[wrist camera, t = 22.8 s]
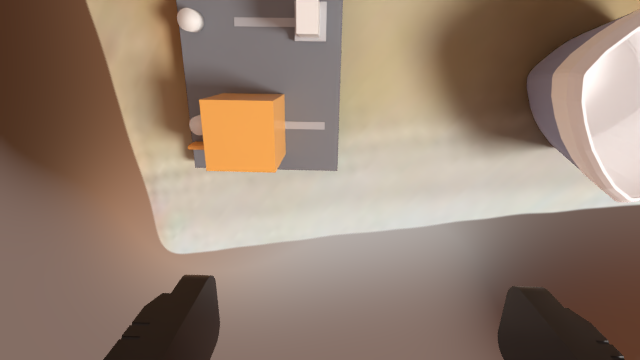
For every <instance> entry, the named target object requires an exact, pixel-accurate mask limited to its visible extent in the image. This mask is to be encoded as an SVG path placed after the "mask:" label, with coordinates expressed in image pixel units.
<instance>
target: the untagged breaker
mask: <svg viewBox="0 0 640 360" xmlns="http://www.w3.org/2000/svg"><path fill="white" fill-rule="evenodd" d="M294 8H295V41H305V42H326V22H327V2H319V0H296V1H294Z"/></svg>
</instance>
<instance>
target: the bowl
mask: <svg viewBox="0 0 640 360" xmlns="http://www.w3.org/2000/svg"><path fill="white" fill-rule="evenodd" d="M527 92H528V98H529V104H530V108H531V111H532V114H533V117H534V120H535V122H536V123H537V125H538V127H539V129H540V131H541V132H542V133H543V135H544V136H545V137H546V138H547V140H548V141H549V142H550V143H551V144H552V145H553V146H554V147H555V148H556V149H557V150H558V151H559V152H561V153H562V154H563V155H564V156H565V157H566V158H567V159H568V160H570V161H571V162H572V163H573V164H574V165H575V166H576V167H577V168H579V169H580V170H581V172H582V173H583V174H585V175H586V176H587V177H588V178H589V179H590V180H591V181H592V182H594V183H595V184H596V185H597V186H598V187H599V188H600V189H601V190H603V191H604V192H605V193H606V194H608V195H609V196H610V197H611V198H612V199H614V200H615V201H617V202H634V201H640V9H639V10H637V11H635V12H632V13H630V14H628V15H625V16H623V17H621V18H618V19H616V20H614V21H611V22H609V23H607V24H604V25H602V26H600V27H597V28H595V29H592V30H590V31H588V32H585V33H583V34H581V35H579V36H577V37H575V38H573V39H571V40H569V41H567V42H566V43H564V44H563V45H561V46H560V47H558V48H557V49H555V50H554V51H553V52H552V53H550V54H549V55H548V56H547V57H546V58H544V59H543V60H542V61H541V62H539V63H538V64H537V65H536V66H535V67H534V68H533V69H532V70H531V72H530V73H529V75H528V77H527Z"/></svg>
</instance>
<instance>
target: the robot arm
mask: <svg viewBox="0 0 640 360" xmlns="http://www.w3.org/2000/svg"><path fill="white" fill-rule="evenodd" d="M219 320H220V318H219V309H218V300H217V291H216V282H215V278H214V276H208V275H184V276H183V277H182V278H181V280H180V281H179V282H178V284H177V285H176V287H175V288H174V290H173V291H172V293H171V294H169V293H162V294H161V295H160V296H158V297H157V298H155V299H154V300H153V301H151V302H150V303H148V304H147V305H146V306H144V308H143V309H142V310H141V312H140V313H139V314H138V316H137V317H136V318H135V320H134V321H133V322H132V325H130V326H129V327H128V329H127V330H126V331H125V332H124V334H123V335H122V338H121V339H119V340H118V341H117V343H116V344H115V346H114V347H113V348H112V349H111V351H110V352H109V353H108V354H107V356H106V357H105V358H104V359H103V360H210V358H211V355H212V353H213V351H214V348H215V346H216V343H217V340H218V335H219V327H220V321H219ZM498 344H499V348H500V352H501V354H502V357H503V359H504V360H624V356H623V355H622V354H621V353H620V352H619V351H618V350H617V349H616V348H615V347H614V346H613V345H610V344H609V343H608V340H607V339H606V338H605V337H604V336H603V335H602V334H601V333H600V332H599V331H598V330H597V329H596V328H595V327H594V326H593V325H592V324H591V323H589V322H588V321H587V320H585V319H584V318H582V317H581V316H579V315H578V314H576V313H574V312H573V311H571V310H570V309H569V308H564V307H563V306H562V305H561V304H560V303H559V302H558V301H557V300H556V299H555V297H554V296H552V294H551V293H550V292H549V291H548V290H547V289H545V288H543V287H520V286H512V287H511V288H510V289H509V290H508V292H507V296H506V300H505V304H504V309H503V313H502V317H501V321H500V326H499V330H498Z"/></svg>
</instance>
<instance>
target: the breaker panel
mask: <svg viewBox="0 0 640 360" xmlns="http://www.w3.org/2000/svg"><path fill="white" fill-rule="evenodd" d="M294 1H296V0H176V2H177V11H178V14H177V22H178V24H179V28H180V37H181V46H182V55H183V64H184V72H185V81H186V90H187V99H188V107H189V116H190V123H189V127H190V130H191V134H192V142H193V143H192V144H190V145H188V149H191V150H193V151H194V160H195V168H206V161H205V151H204V142H203V132H202V123H201V113H200V104H199V100H200V99H204V98H207V97H211V96H215V95H218V94H222V93H244V94H284V100H285V143H286V154H285V156H284V158H283V160H282V162H281V163H280V165H279V167H278V169H282V170H325V171H337V164H338V133H339V101H340V70H341V39H342V7H343V0H319V2H327V22H326V42H305V41H295V8H294Z"/></svg>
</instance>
